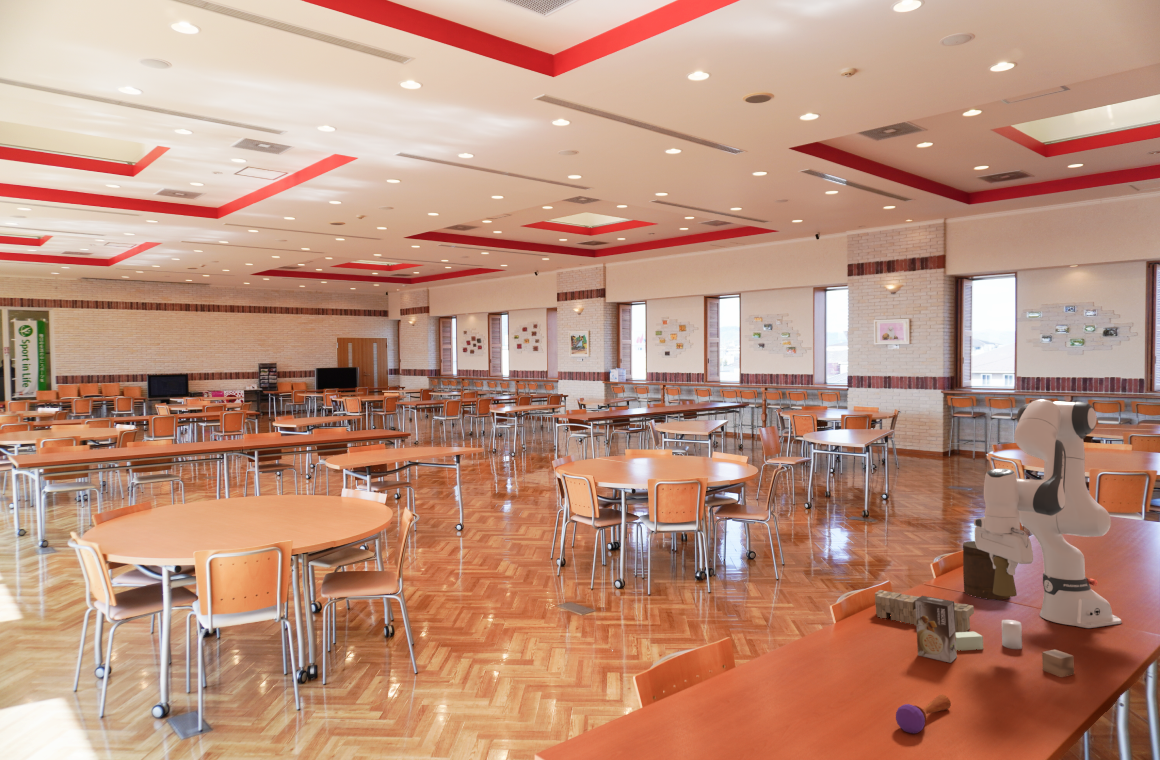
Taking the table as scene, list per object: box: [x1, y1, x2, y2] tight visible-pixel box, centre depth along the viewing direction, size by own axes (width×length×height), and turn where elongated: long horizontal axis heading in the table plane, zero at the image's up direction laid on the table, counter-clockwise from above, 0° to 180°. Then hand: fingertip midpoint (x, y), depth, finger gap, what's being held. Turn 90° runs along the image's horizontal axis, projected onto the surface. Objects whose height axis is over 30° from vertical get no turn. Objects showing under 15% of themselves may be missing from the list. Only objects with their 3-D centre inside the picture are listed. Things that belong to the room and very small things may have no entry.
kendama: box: [895, 694, 952, 734], centre depth 161 cm, size 6×6×20 cm
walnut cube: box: [1041, 648, 1075, 678], centre depth 186 cm, size 5×5×5 cm
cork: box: [993, 556, 1017, 598], centre depth 202 cm, size 6×6×11 cm
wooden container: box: [962, 540, 1011, 601], centre depth 255 cm, size 15×15×22 cm
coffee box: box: [915, 595, 958, 664], centre depth 199 cm, size 9×6×16 cm
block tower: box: [874, 589, 975, 632], centre depth 226 cm, size 8×8×29 cm
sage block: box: [956, 630, 984, 652], centre depth 205 cm, size 8×4×4 cm, turn 95°
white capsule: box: [1001, 619, 1023, 650], centre depth 205 cm, size 5×5×7 cm
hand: (1003, 571), depth 202 cm, fingers closed on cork, 4 cm apart
